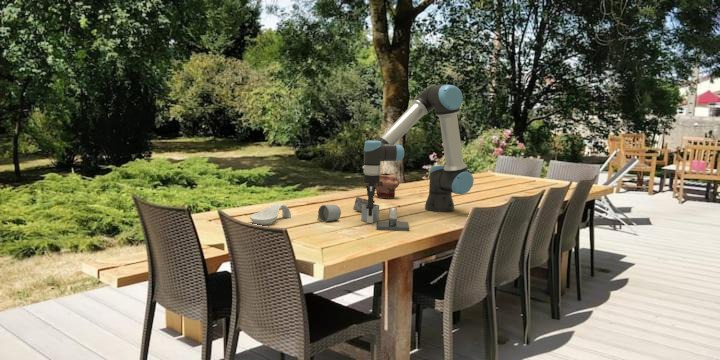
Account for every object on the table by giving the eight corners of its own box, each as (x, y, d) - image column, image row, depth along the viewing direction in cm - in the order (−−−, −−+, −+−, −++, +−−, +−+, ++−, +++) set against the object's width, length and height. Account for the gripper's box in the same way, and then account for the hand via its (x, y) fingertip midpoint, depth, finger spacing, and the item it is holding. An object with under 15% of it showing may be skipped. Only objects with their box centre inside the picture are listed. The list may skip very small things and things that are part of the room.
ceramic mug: (341, 220, 259) (342, 204, 258) (328, 223, 253) (328, 206, 252) (326, 217, 266) (326, 201, 265) (313, 219, 260) (313, 203, 260)
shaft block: (407, 225, 254) (408, 206, 253) (409, 231, 242) (410, 211, 241) (376, 224, 254) (377, 205, 253) (376, 229, 242) (377, 210, 241)
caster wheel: (377, 215, 288) (374, 216, 278) (357, 209, 291) (352, 209, 281) (381, 202, 288) (377, 202, 278) (360, 196, 291) (356, 196, 281)
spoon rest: (266, 228, 240) (266, 211, 239) (244, 224, 245) (244, 208, 244) (297, 219, 261) (297, 203, 260) (276, 216, 266) (276, 201, 265)
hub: (378, 218, 266) (379, 204, 265) (378, 222, 258) (379, 207, 257) (361, 218, 266) (362, 203, 265) (361, 221, 258) (361, 206, 257)
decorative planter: (363, 196, 329) (363, 173, 328) (373, 194, 340) (374, 171, 338) (393, 200, 319) (394, 176, 317) (403, 198, 330) (404, 174, 328)
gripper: (363, 170, 272) (362, 214, 275) (362, 177, 247) (361, 225, 250) (379, 171, 272) (378, 214, 274) (379, 177, 247) (378, 225, 250)
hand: (370, 219), depth 262 cm, fingers open, 13 cm apart
